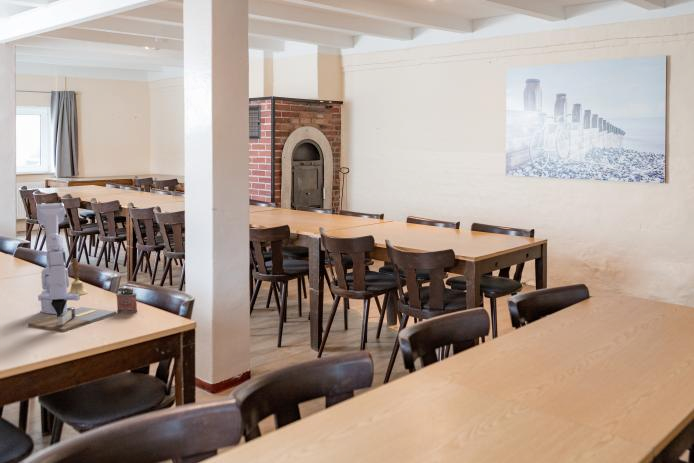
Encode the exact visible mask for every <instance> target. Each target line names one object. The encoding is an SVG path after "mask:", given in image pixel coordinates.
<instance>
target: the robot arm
mask: <svg viewBox="0 0 694 463" xmlns="http://www.w3.org/2000/svg"><path fill="white" fill-rule="evenodd" d="M35 206H36V208H35V209H36V219H37V222H38V224H39V225H43V227H44V229H45V237H46V238H45V246H46V254H45V260H46V266H45V267H44V268H43V269H42V270H41V286H42V287H41V288H42V291H41V293H40V294H38V295H37V299H38V301H40V306H41V310H39V313H46V314H51V315H52V314H53V315H57V319H58V316H60V315H61V314H62V313H64V312H65V311H66V310H67V308H68V304H67V302H68V301H79V300H80V299H81V298H80V296H79V294H68V293H69V292H68V288H69V287H70V280H69V279H70V278H69V272H68V269H67V267H66V266H67V254H66V251H65V248H64V242H63V241H64V240H63V237H62V236H61V235H60V234H59V225H60V224H61V223H64V221H65V217H66V216H65V215H66V214H65V204H64V203H63V202H57V203H56V202H55V203H54V202H53V203H37V204H36V205H35Z"/></svg>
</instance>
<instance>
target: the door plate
mask: <svg viewBox="0 0 694 463" xmlns="http://www.w3.org/2000/svg"><path fill="white" fill-rule="evenodd" d="M114 315H117V311H113V310H106V309H99V308H90V307H82V306H81V307H79V308H75V317H73V318H74V319H81V320H89V323H88V324H90V323H94V322H97V321H99V320H102V319H106V318H109V317H112V316H114ZM54 316H57V314H54Z"/></svg>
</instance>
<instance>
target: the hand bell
mask: <svg viewBox="0 0 694 463" xmlns="http://www.w3.org/2000/svg"><path fill="white" fill-rule="evenodd" d="M71 266H72V271H73V274H74V280H73V281H72V282H71V283H70V285H71V286H70V290H69V292H67V293H68V294H79V296H85V295H87V294H88V291H87V290H86V289H85V287H84V285H83V281H81V280H80V278H79V267H80V266H79V262H78V260H77V258H73V259H72V264H71Z"/></svg>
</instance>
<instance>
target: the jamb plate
mask: <svg viewBox="0 0 694 463" xmlns="http://www.w3.org/2000/svg"><path fill="white" fill-rule="evenodd" d="M89 324H90V323H89V320H81V319H74V318H71V319H70V320H68V321H67V322H66V323H65V324H63V325H58V319H57V316H55V315H51V316H49V317H45V318H42V319H38V320H36V321H33V322H29V323H28V324H27V326H28V327H29V328H30V327H31V328H36V329H37V328H38V329H45V330H50V331H57V332H64V333H65V332H68V331H70V330H73V329H76V328H80V327H83V326H85V325H89Z"/></svg>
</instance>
